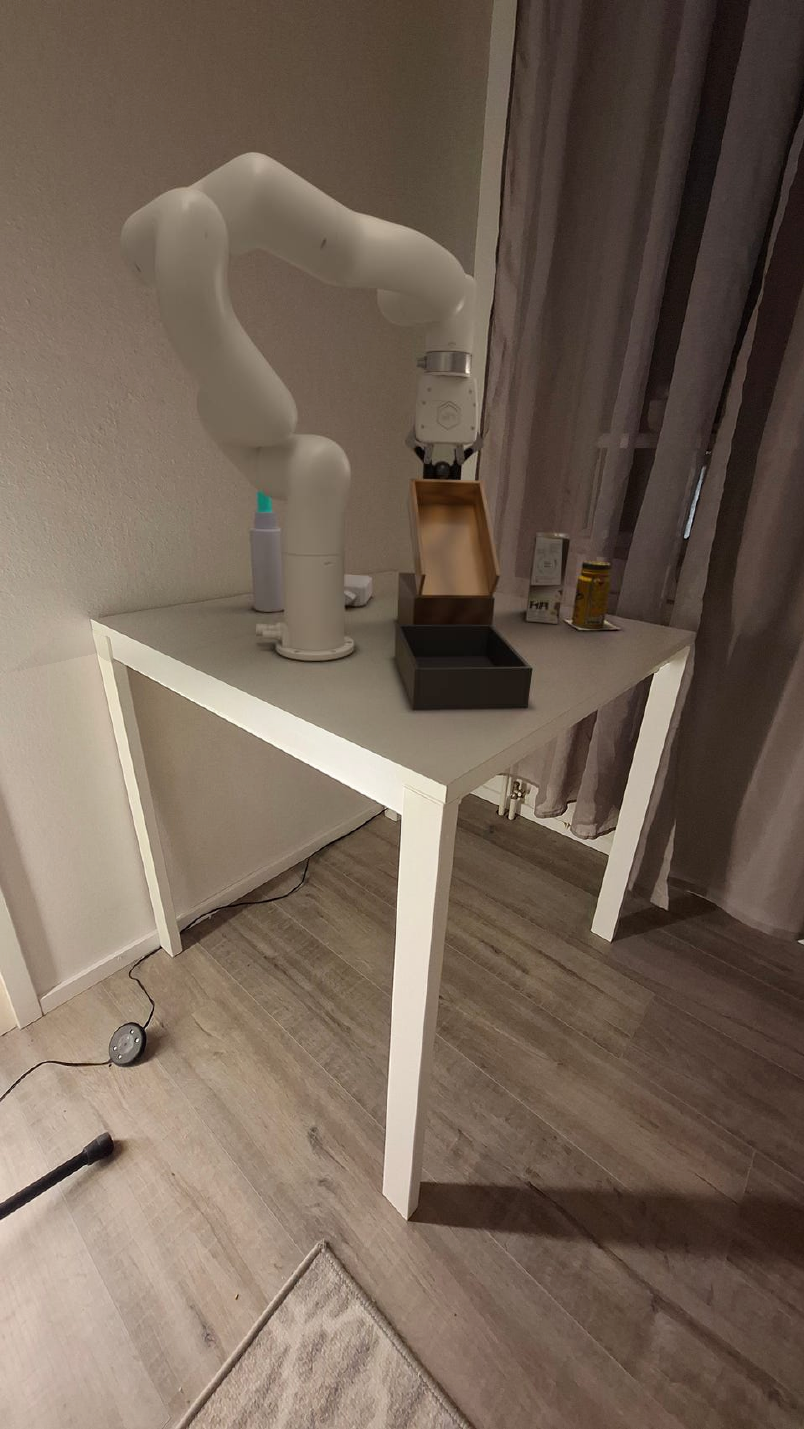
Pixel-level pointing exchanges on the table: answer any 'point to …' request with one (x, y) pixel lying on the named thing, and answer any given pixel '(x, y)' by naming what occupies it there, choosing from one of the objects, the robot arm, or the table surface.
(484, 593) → the pour box
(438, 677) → the basket
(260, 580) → the spray bottle
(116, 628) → the table surface
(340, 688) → the table surface
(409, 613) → the stand
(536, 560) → the coffee box
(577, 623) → the condiment
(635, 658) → the table surface
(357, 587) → the charger
